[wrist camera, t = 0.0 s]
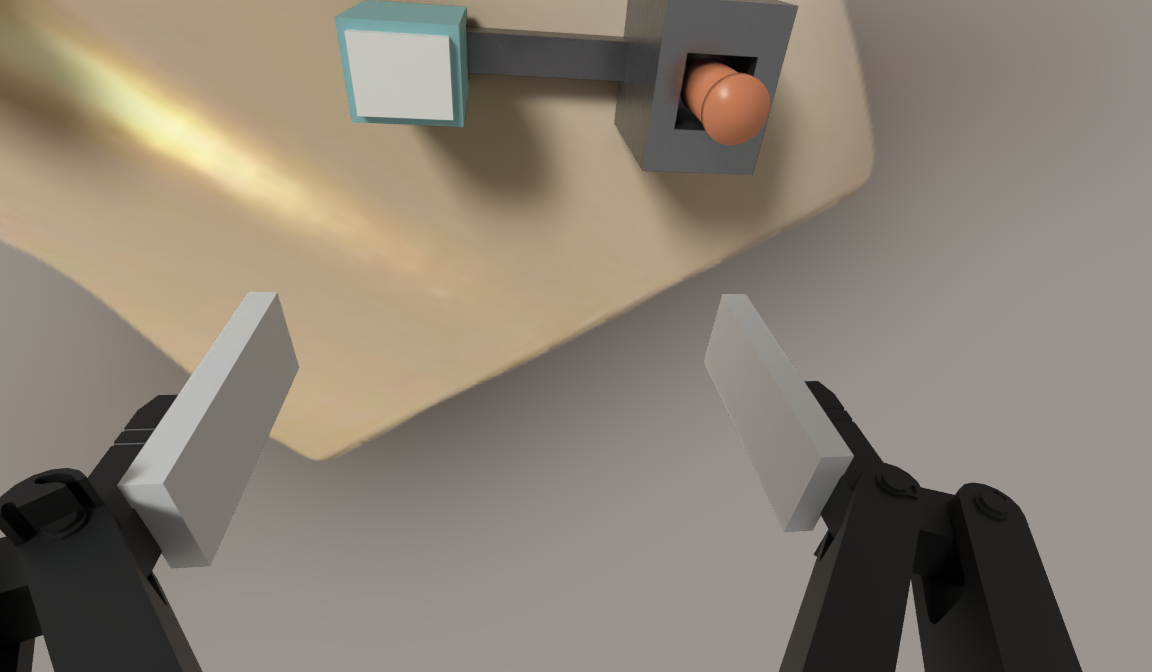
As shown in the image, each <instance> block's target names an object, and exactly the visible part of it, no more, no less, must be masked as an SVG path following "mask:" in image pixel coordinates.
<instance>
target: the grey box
mask: <svg viewBox="0 0 1152 672" xmlns="http://www.w3.org/2000/svg"><path fill="white" fill-rule="evenodd" d="M797 9H798V6H797V5H793V4H789V3H786V2H782V1H778V0H628V5H627V14H626V23H625V32H624V38H626V39H627V40H628V41H629V51H628V59H627V68H626V76H625V81H619V86H618V95H617V104H616V113H615V122H614V123H615V125H616V127H617V128H618V130H619V132H620V133H621V135H622V137H623V139H624V140H625V142H626V144H627V145H628V147H629V149H630V150H631V152H632V154H633V156H634V157H635V159H636V161H637V162H638V164H639V166H640V168H641V169H642V171H660V172H691V173H722V174H752V175H753V172H754V168H755V164H756V161H757V157H758V153H759V150H760V146H761V142H762V138H763V135H764V131H765V127H766V124H767V120H768V117H767V119H766V121H765V123H764V125H763V127H762V128H761V129H760V131H759V132H758V133H757V134H756V135H755V136H753V137H752V138H751V139H749V140H748V141H746V142H744V143H741V144H738V145H724V144H720V143H718V142H716V141H715V140H714V139H713V138H712V137H711V136H710V135H709V134H708V133H707V132H706V131H705V129H704V127H703V124H702V122H701V121H700V120H699V119H698V118H697V117H696V116H695V115H694V114H693V113H692V112H691V111H690V110H689V109H688V108H687V107H686V106H685V105H684V104H683V102H682V100H681V98H680V93H681V87H682V81H683V75H684V72H685V71H686V70H687V68H688V67H689V66H690V65H691V64H693V63H694V62H696V61H698V60H700V59H703V58H713V59H716V60H718V61H720V62H722V63H723V64H725V65H727V66H728V67H730V68H731V69H733V70H735V71H736V72H738V73H746V74H749V75H751V76H753V77H755V78H756V79H758V80H759V81H761V82H762V83H763V84H764V86H765V87H766V89H767V91H768V93H769V98H770V109H771V105H772V102H773V98H774V94H775V90H776V87H777V83H778V79H779V76H780V72H781V68H782V65H783V61H784V57H785V54H786V50H787V46H788V42H789V39H790V35H791V31H792V28H793V24H794V20H795V17H796V13H797ZM770 109H769V113H770ZM768 116H769V114H768Z"/></svg>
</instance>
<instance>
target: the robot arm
mask: <svg viewBox="0 0 1152 672" xmlns="http://www.w3.org/2000/svg"><path fill="white" fill-rule="evenodd" d="M704 364H705V366H706V368H707V370H708V372H709V374H710V376H711V379H712V381H713V383H714V385H715V387H716V389H717V391H718V393H719V396H720V398H721V400H722V402H723V404H724V406H725V408H726V411H727V412H728V415H729V417H730V419H731V421H732V423H733V425H734V428H735V430H736V432H737V434H738V436H739V438H740V440H741V442H742V444H743V447H744V449H745V451H746V453H747V455H748V457H749V459H750V462H751V464H752V466H753V468H754V470H755V472H756V474H757V476H758V479H759V481H760V483H761V485H762V487H763V489H764V491H765V493H766V496H767V498H768V500H769V502H770V504H771V506H772V508H773V510H774V512H775V515H776V517H777V519H778V521H779V523H780V525H781V527H782V530H783V532H794V531H810V530H813V529H814V527H815V525H816V523H817V522H818V520H819V518H820V516H822V518H823V520H824V522H825V523H826V525H827V527H828V531H827V533H826V535H825V536H824V538H823V540H822V541H821V543H820V545H819V546H818V548H817V550H816V551H815V553H814V555H815V556H817V559H816V562H815V565H814V568H813V571H812V574H811V577H810V581H809V583H808V586H807V589H806V592H805V595H804V598H803V601H802V604H801V607H800V610H799V613H798V616H797V619H796V622H795V625H794V628H793V631H792V634H791V637H790V640H789V643H788V646H787V649H786V652H785V655H784V658H783V661H782V664H781V667H780V670H779V672H895V669H896V663H897V658H898V652H899V646H900V640H901V634H902V628H903V622H904V615H905V610H906V604H907V598H908V592H909V586H910V580H911V582H912V588H913V595H914V601H915V609H916V615H917V622H918V628H919V635H920V642H921V649H922V655H923V662H924V668H925V672H1082V670H1081V667H1080V664H1079V661H1078V659H1077V656H1076V653H1075V651H1074V648H1073V645H1072V642H1071V640H1070V637H1069V634H1068V632H1067V629H1066V626H1065V623H1064V621H1063V618H1062V615H1061V613H1060V610H1059V607H1058V604H1057V602H1056V599H1055V596H1054V594H1053V591H1052V588H1051V585H1050V583H1049V580H1048V577H1047V575H1046V572H1045V569H1044V566H1043V564H1042V561H1041V558H1040V556H1039V553H1038V550H1037V547H1036V545H1035V542H1034V539H1033V537H1032V534H1031V531H1030V528H1029V526H1028V523H1027V520H1026V518H1025V515H1024V514H1023V512H1022V510H1021V509H1020V507H1019V506H1018V505H1017V504H1016V503H1015V502H1014V501H1013V500H1012V499H1010V497H1008V496H1007V495H1005V494H1004V493H1002V492H1000V491H999V490H997V489H995V488H992V487H990V486H987V485H985V484H979V483H968V484H964V485H963V486H962V487H961V488H960V489H959V490H958V492H957V493H956V494H955V495H952V494H948V493H944V492H939V491H935V490H930V489H926V488H922V487H920V485H919V483H918V482H917V481H916V480H915V479H914V478H913V477H912V476H911V475H910V474H908V473H907V472H905V471H903V470H902V469H900V468H898V467H896V466H893V465H890V464H887V463H883V461H882V460H881V458H880V457H879V456H878V454H877V453H876V452H875V450H874V449H873V447H872V446H871V445H870V443H869V442H868V440H867V439H866V438H865V436H864V435H863V433H862V432H861V431H860V429H859V428H858V426H857V425H856V424H855V422H852V418H851V417H850V415H849V414H848V413H847V411H844V407H843V406H842V404H841V403H840V401H839V400H838V399H837V397H836V396H835V394H834V393H833V392H831V391H830V390H829V389H827V388H826V387H825V386H824V385H822V384H821V383H820V382H819V381H803V379H802V378H801V376H800V375H799V373H798V372H797V370H796V369H795V367H794V366H793V364H792V363H791V361H790V360H789V358H788V357H787V355H786V354H785V352H784V351H783V349H782V348H781V346H780V345H779V343H778V342H777V340H776V339H775V337H774V336H773V334H772V333H771V332H770V330H769V328H768V327H767V326H766V324H765V322H764V321H763V319H762V318H761V316H760V315H759V313H758V312H757V310H756V309H755V307H754V306H753V304H752V303H751V301H750V300H749V299H748V297H747V296H746V294H722V298H721V301H720V305H719V308H718V312H717V316H716V319H715V323H714V326H713V331H712V334H711V337H710V341H709V344H708V348H707V352H706V355H705V359H704ZM298 369H299V366H298V362H297V359H296V355H295V352H294V348H293V345H292V341H291V338H290V334H289V331H288V328H287V324H286V321H285V317H284V314H283V310H282V307H281V303H280V300H279V297H278V293H277V292H248V293H247V294H246V296H245V297H244V299H243V300H242V302H241V303H240V305H239V306H238V308H237V309H236V311H235V312H234V314H233V315H232V317H231V318H230V320H229V321H228V323H227V324H226V325H225V327H224V328H223V330H222V331H221V333H220V334H219V336H218V337H217V339H216V340H215V342H214V343H213V345H212V346H211V348H210V349H209V351H208V352H207V353H206V355H205V356H204V358H203V359H202V361H201V362H200V364H199V365H198V367H197V368H196V370H195V371H194V373H193V374H192V376H191V377H190V379H189V380H188V382H187V383H186V385H185V386H184V387H183V389H182V390H181V392H180V393H179V395H158V396H157V397H155V398H154V399H153V400H151V401H150V402H149V403H147V404H146V405H144V406H143V407H142V408H140V409H139V410H138V411H137V412H136V413H135V415H134V416H133V417H132V419H131V420H130V421H129V423H128V424H127V425H126V427H125V431H124V432H121V434H120V435H119V437H118V438H117V439H116V440H115V442H114V446H111V447H110V448H109V450H108V451H107V452H106V454H105V455H104V457H103V458H102V459H101V461H100V462H99V463H98V465H97V466H96V467H95V469H94V470H93V471H92V473H91V474H90V475H89V477H88V478H87V477H86V476H85V475H84V474H83V473H82V472H81V471H79V470H75V469H70V468H62V469H53V470H49V471H45V472H42V473H39V474H36V475H33V476H31V477H29V478H27V479H25V480H24V481H22V482H20V483H18V484H16V485H14V487H12V488H11V489H10V490H9V491H7V492H6V493H5V494H3V495H2V496H1V497H0V530H1V531H2V532H3V533H4V534H5V535H6V537H3V538H0V672H31V671H32V662H33V653H34V644H35V637H38V636H41V635H44V639H45V642H46V645H47V649H48V652H49V655H50V659H51V662H52V665H53V668H54V671H55V672H202V670H201V668H200V666H199V664H198V662H197V659H196V657H195V656H194V653H193V651H192V649H191V647H190V645H189V643H188V641H187V639H186V637H185V635H184V633H183V631H182V629H181V627H180V625H179V623H178V621H177V618H176V617H175V614H174V612H173V610H172V608H171V606H170V604H169V602H168V600H167V598H166V596H165V594H164V592H163V590H162V588H161V586H160V584H159V582H158V579H157V578H156V576H155V575H154V573H153V572H152V570H153V568H154V566H155V564H156V562H157V560H158V558H159V556H160V554H161V553H162V555H163V556H164V558H165V559H166V561H167V562H168V564H169V566H170V567H171V568H186V567H203V566H211V563H212V561H213V559H214V556H215V554H216V552H217V550H218V548H219V545H220V543H221V541H222V539H223V537H224V534H225V532H226V530H227V528H228V525H229V523H230V521H231V519H232V516H233V514H234V512H235V510H236V507H237V505H238V503H239V501H240V499H241V496H242V494H243V492H244V490H245V487H246V485H247V483H248V481H249V478H250V476H251V474H252V472H253V469H254V467H255V465H256V463H257V461H258V458H259V456H260V454H261V452H262V449H263V447H264V445H265V443H266V440H267V438H268V436H269V434H270V431H271V429H272V427H273V425H274V423H275V420H276V418H277V416H278V414H279V411H280V409H281V407H282V405H283V402H284V400H285V398H286V396H287V393H288V391H289V389H290V387H291V385H292V382H293V380H294V378H295V376H296V373H297V371H298Z"/></svg>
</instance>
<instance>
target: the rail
mask: <svg viewBox="0 0 1152 672" xmlns="http://www.w3.org/2000/svg"><path fill="white" fill-rule="evenodd" d="M466 40H467V65H468V73H480V74H498V75H516V76H534V77H552V78H571V79H589V80H607V81H625V76H626V68H627V59H628V51H629V41H628V40H627V39H626V38H624V37H615V36H600V35H585V34H570V33H555V32H540V31H525V30H510V29H494V28H479V27H466Z"/></svg>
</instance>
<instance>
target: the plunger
mask: <svg viewBox="0 0 1152 672" xmlns="http://www.w3.org/2000/svg"><path fill="white" fill-rule="evenodd" d="M680 98H681V100H682V102H683V104H684V105H685V106H686V107H687V108H688V109H689V110H690V111H691V112H692V113H693V114H694V115H695V116H696V117H697V118H698V119H699V120H700V121H701V122H702V124H703V127H704V129H705V131H706V132H707V133H708V134H709V135H710V136H711V137H712V138H713V139H714V140H715V141H716V142H718V143H720V144H724V145H738V144H741V143H744V142H746V141H748V140H749V139H751V138H752V137H753V136H755V135H756V134H757V133H758V132H759V131H760V129H761V128H762V127H763V125H764V123H765V121H766V119H767V117H768V114H769V109H770V98H769V93H768V91H767V89H766V87H765V86H764V84H763V83H762V82H761V81H759V80H758V79H756V78H755V77H753V76H751V75H749V74H746V73H738V72H736V71H735V70H733V69H731V68H730V67H728V66H727V65H725V64H723V63H722V62H720V61H718V60H716V59H713V58H703V59H700V60H698V61H696V62H694V63H693V64H691V65H690V66H689V67H688V68H687V70H686V71H685V72H684V75H683V81H682V87H681V93H680Z"/></svg>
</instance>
